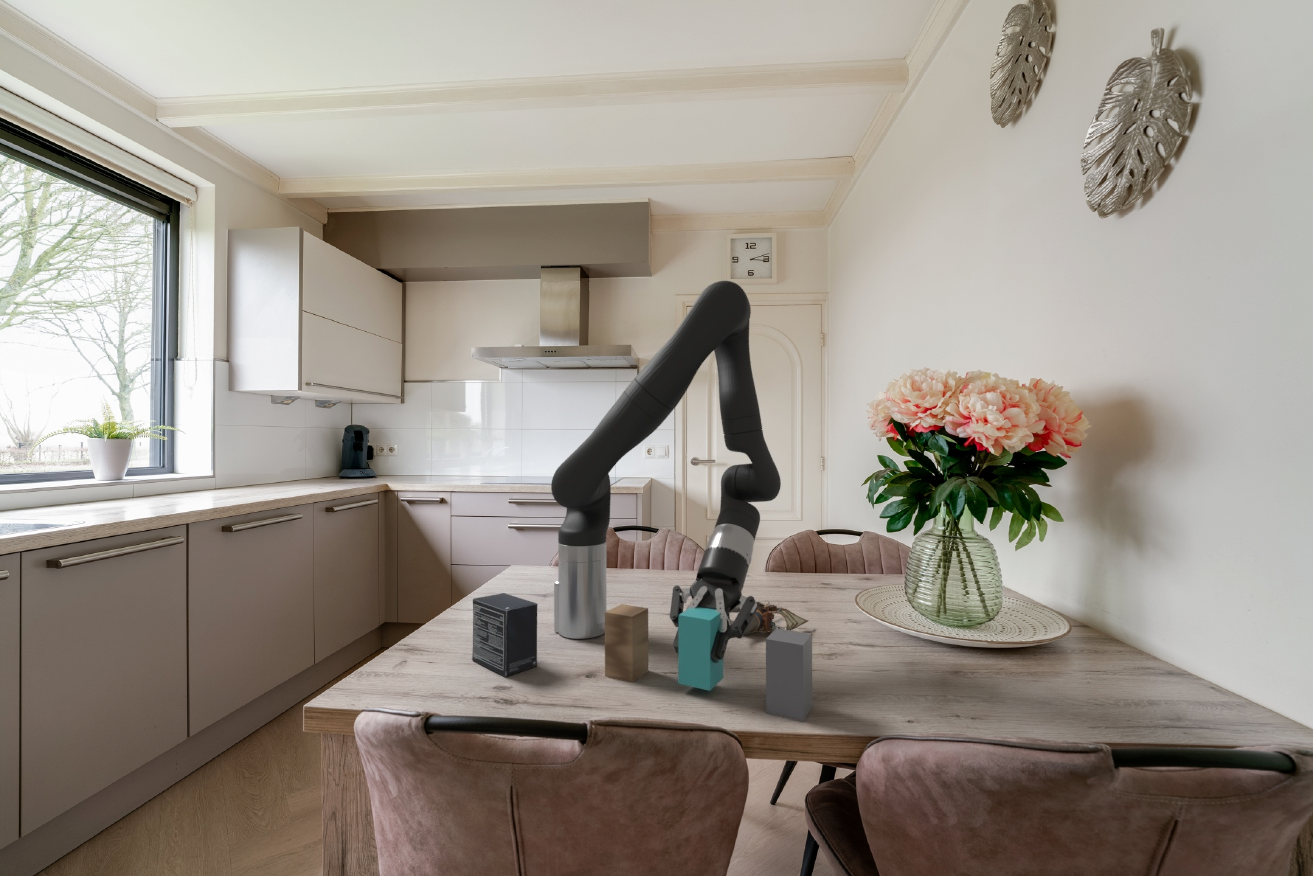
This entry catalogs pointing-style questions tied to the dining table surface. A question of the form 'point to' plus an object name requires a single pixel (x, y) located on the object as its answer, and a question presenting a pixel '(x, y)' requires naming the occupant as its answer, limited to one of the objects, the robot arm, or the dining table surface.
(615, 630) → the walnut block
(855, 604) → the dining table surface
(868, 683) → the dining table surface
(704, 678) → the teal block
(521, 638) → the small box
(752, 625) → the figurine
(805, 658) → the charcoal block
